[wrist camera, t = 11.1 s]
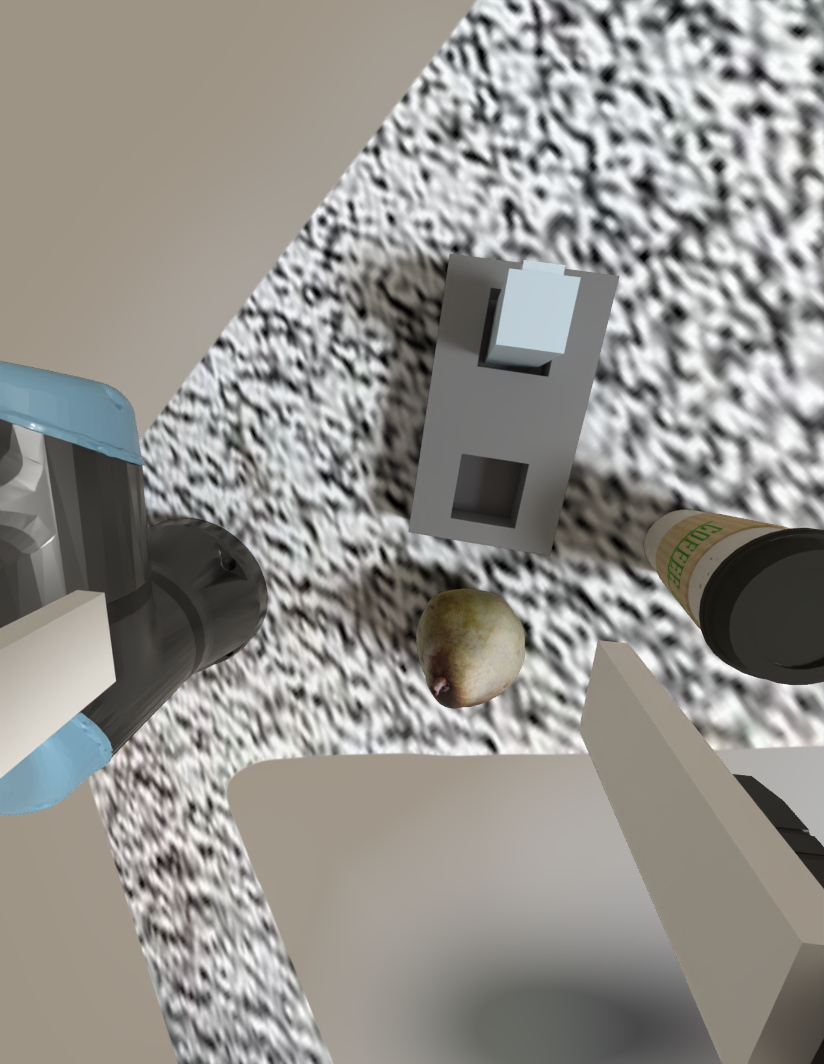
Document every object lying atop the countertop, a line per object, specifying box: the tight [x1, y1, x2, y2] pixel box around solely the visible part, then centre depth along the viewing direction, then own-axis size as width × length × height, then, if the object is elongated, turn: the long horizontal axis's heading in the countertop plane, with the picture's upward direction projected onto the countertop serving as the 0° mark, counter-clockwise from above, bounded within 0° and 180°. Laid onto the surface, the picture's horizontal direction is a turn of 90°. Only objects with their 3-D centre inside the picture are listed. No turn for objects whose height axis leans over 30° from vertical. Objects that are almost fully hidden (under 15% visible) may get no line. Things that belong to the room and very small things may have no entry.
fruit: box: [416, 589, 525, 708], centre depth 38 cm, size 10×9×12 cm
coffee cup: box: [644, 509, 824, 685], centre depth 32 cm, size 10×10×15 cm
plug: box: [485, 260, 581, 370], centre depth 30 cm, size 4×5×11 cm
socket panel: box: [409, 254, 619, 556], centre depth 36 cm, size 12×21×4 cm, turn 171°
